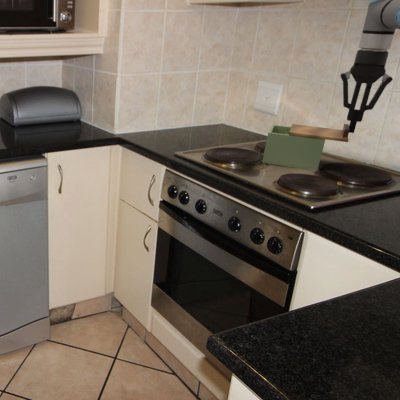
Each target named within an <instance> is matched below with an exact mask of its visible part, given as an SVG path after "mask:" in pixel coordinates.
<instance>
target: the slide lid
mask: <svg viewBox="0 0 400 400" xmlns="http://www.w3.org/2000/svg"><path fill="white" fill-rule="evenodd" d="M349 124H350V123H343V126H342V129H339V128H331V127H330V128H329V127H323V126H322V127H321V126H313V125H303V124H296V123H291V126H290V127H291V128H290V132H289V135H295V136H303V137H311V138H319V139H325V141H326V140H328V141H335V142H343V143H348V142H349V134H350V133H349V130H350V129H349Z"/></svg>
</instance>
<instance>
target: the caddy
mask: <svg viewBox="0 0 400 400" xmlns="http://www.w3.org/2000/svg"><path fill="white" fill-rule="evenodd" d="M290 128H291V126H286V125H280V124H279V125H278V124H271V126H270V129H269V130H268V133H267V136H266V142H265V147H264V152H263V156H262V162H261V163H262V164H268V165H275V166H281V167H287V168H294V169H295V168H297V169H305V170H312V171H319V166H320V162H321V158H322V155H323V151H324V146H325V144H326V143H325V142H326V139H319V138H311V137H303V136H295V135H289V132H290ZM286 134H288V135H286Z"/></svg>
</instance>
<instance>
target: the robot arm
mask: <svg viewBox="0 0 400 400" xmlns="http://www.w3.org/2000/svg"><path fill="white" fill-rule="evenodd" d="M396 30H400V0H370V1H369V4H368V5H367V12H366V16H365V19H364V24H363V28H362V32H361V35H360V39H359V43H358V48H359V49H358V50H357V51H356V54H355V58H354V62H353V65H352V66H351V67H350V69H349V70H348V71H345V72H341V73H340V75H339V76H340V78H341V81H342V99H343V100H342V103H343V105H342V106H343V107H344V108H346V109H348V112H347V117H346V120H347V121H349V123H348V124H349V129H350V130H349V134H355V132H356V131H355V130H356V128H357V127H356V126H357V123H361V122H362V121H363V118H364V114H365V112H366V111H370V110H371V111H372V110H373V109H374V107H375V106H376V104H377V102H378V101H379V99H380V97H381V96H382V94H383V92H384V91H385V89H386V87H387V86H388V85H389V84H390V83H391V82H392V81H393V80H394V79H393V77H392V76H391V75H389V74H387V73H386V64H387V61H388V57H389V54H390V52H389V51H388V50H390V49H391V47H392V43H393V40H394V37H395V33H396ZM351 76H352V78H353V80H354V81H355V86H354V89H353V93H352V97H351V101H350V102H349V79H350V78H351ZM380 78H381V80H380ZM378 80H380V81H381V82H380V85H379V86H378V87H377V89H376V91H375V92H374V94H373V96H372V98H371V100H370V101H369V103H368V100H369V97H370V94H371V91H372V87H373V84H375V83H376V82H377V81H378ZM363 84H365V88H364V90H363V95H362V99H361V102H360V106H359V109H356V105H357V103H358V102H357V101H358V99H359V96H360V95H359V94H360V91H361V88H362V85H363Z"/></svg>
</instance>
